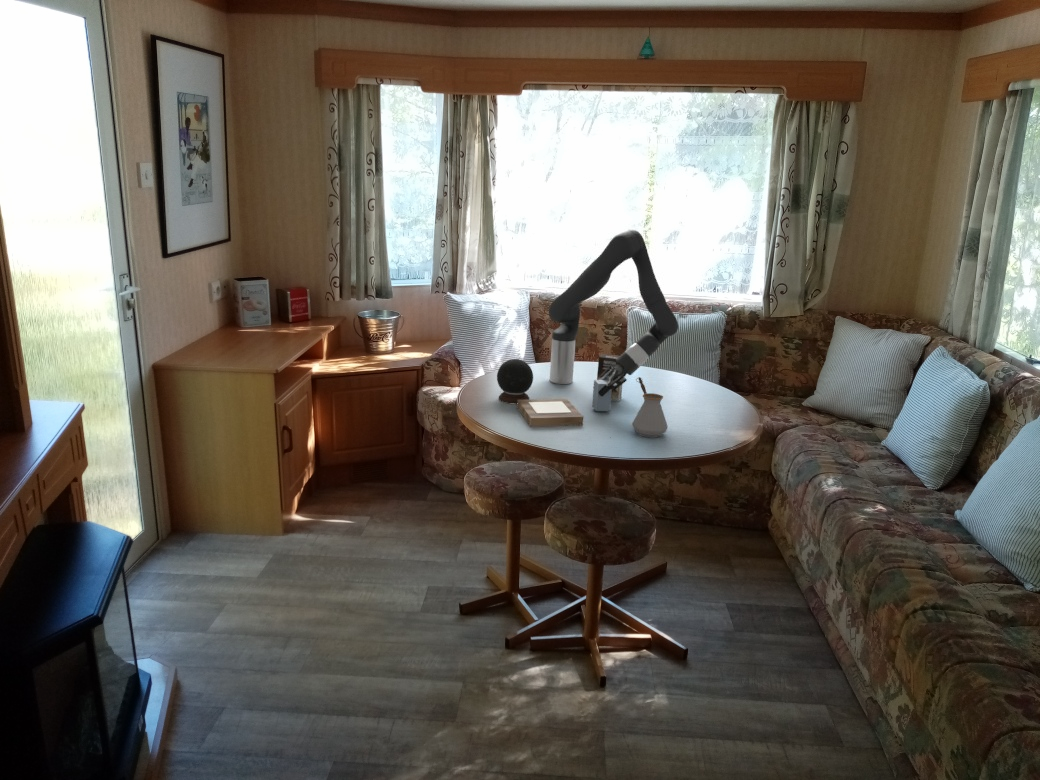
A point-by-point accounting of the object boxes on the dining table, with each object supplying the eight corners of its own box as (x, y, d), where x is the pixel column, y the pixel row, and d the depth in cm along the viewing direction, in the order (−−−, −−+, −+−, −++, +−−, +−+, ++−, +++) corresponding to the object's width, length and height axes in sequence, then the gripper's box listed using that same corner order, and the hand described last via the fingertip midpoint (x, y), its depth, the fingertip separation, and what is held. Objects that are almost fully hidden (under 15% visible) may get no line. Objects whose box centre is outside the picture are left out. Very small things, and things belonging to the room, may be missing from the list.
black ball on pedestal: (495, 403, 277) (496, 363, 272) (496, 393, 289) (498, 354, 285) (531, 405, 277) (534, 365, 272) (532, 394, 289) (534, 356, 285)
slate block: (592, 406, 276) (594, 379, 273) (605, 406, 277) (607, 379, 274) (596, 411, 272) (598, 383, 269) (609, 410, 273) (612, 383, 270)
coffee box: (594, 398, 288) (597, 356, 284) (598, 394, 294) (601, 352, 290) (618, 401, 286) (622, 359, 281) (621, 397, 292) (625, 355, 287)
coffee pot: (671, 439, 250) (676, 395, 245) (637, 439, 248) (641, 395, 243) (651, 418, 270) (655, 376, 265) (619, 418, 268) (622, 376, 264)
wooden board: (517, 407, 274) (517, 398, 273) (566, 406, 278) (566, 397, 277) (530, 426, 255) (531, 417, 254) (582, 425, 259) (583, 415, 258)
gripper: (619, 346, 277) (584, 379, 277) (633, 356, 263) (596, 391, 264) (631, 360, 279) (597, 393, 280) (646, 371, 266) (610, 405, 267)
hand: (597, 392), depth 272 cm, fingers closed on slate block, 5 cm apart
